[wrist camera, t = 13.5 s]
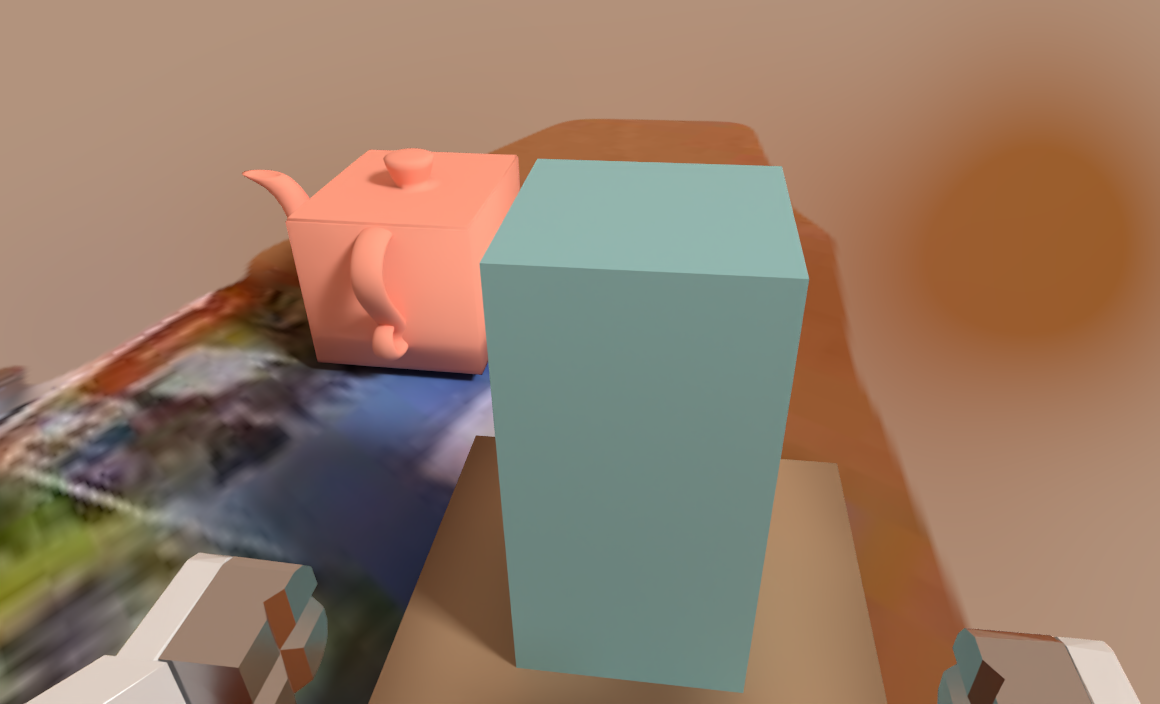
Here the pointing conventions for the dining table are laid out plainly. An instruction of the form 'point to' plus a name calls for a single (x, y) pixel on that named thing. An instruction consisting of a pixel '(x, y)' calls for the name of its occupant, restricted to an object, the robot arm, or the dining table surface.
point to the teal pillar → (641, 410)
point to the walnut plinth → (560, 700)
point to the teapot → (398, 255)
